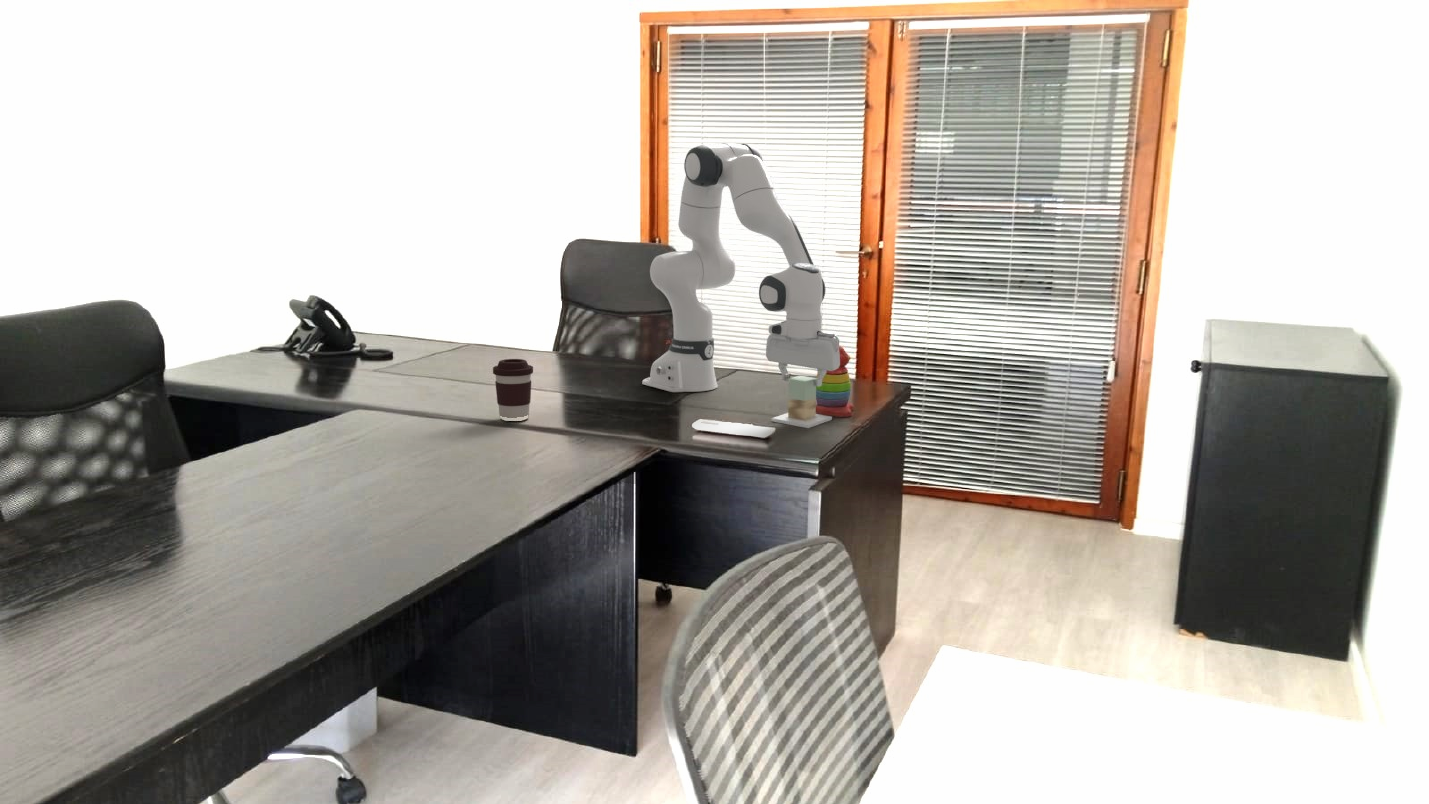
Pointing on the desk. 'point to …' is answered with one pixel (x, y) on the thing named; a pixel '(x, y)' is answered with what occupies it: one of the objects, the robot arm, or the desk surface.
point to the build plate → (802, 423)
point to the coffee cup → (513, 387)
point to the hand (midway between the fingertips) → (801, 383)
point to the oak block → (801, 409)
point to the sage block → (802, 388)
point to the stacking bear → (835, 390)
